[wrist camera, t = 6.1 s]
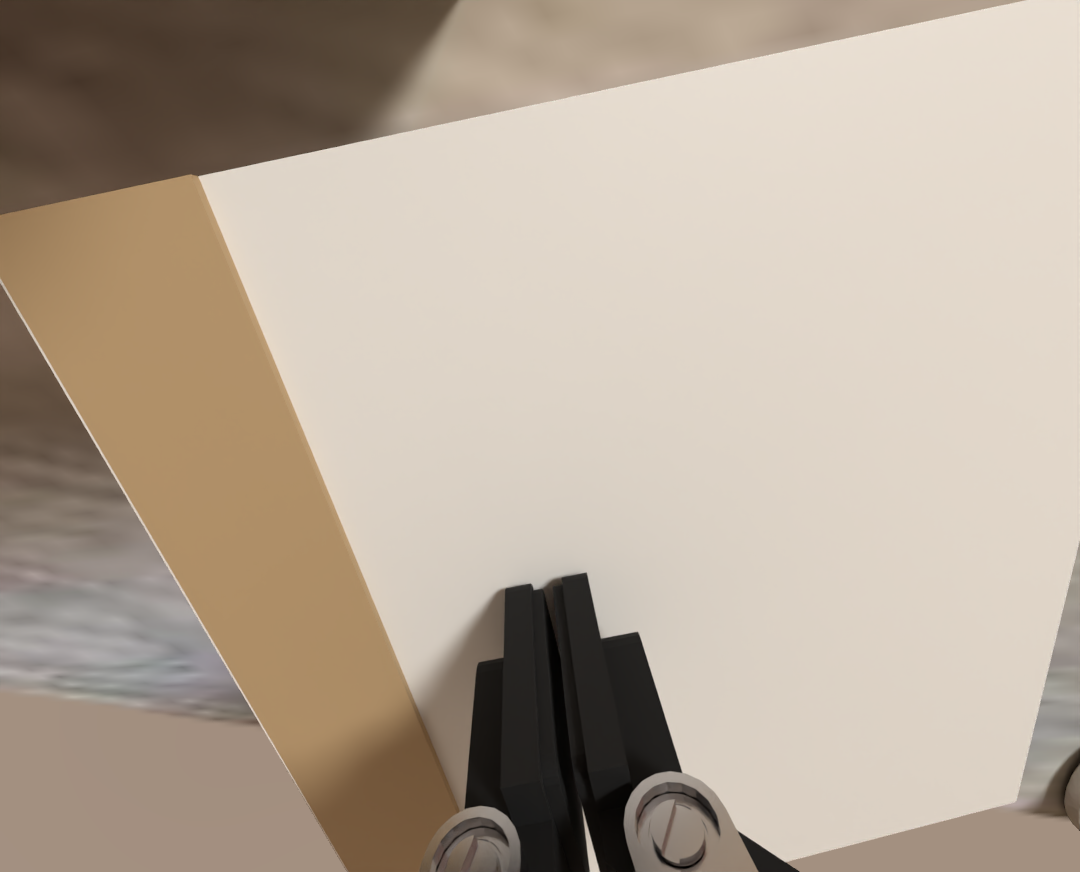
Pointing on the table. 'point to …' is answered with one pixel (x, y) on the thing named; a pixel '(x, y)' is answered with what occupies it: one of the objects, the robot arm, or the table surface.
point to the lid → (621, 419)
